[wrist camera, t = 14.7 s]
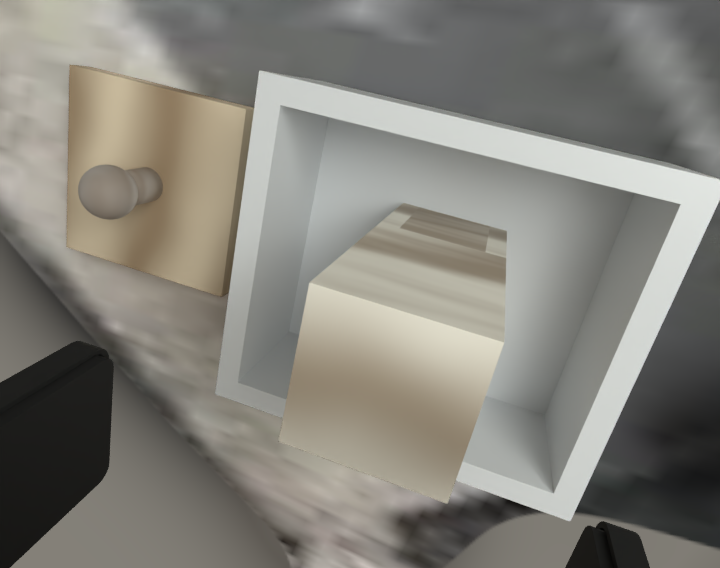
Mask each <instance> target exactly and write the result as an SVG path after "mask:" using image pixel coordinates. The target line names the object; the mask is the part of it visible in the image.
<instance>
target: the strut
mask: <svg viewBox="0 0 720 568" xmlns="http://www.w3.org/2000/svg"><path fill="white" fill-rule="evenodd" d="M506 248H507V231H505V230H502V229H498V228H494V227H491V226H487V225H483V224H480V223H476V222H472V221H469V220H465V219H461V218H458V217H454V216H450V215H447V214H443V213H439V212H435V211H432V210H428V209H424V208H421V207H417V206H413V205H410V204H406V203H403V204H401V205H400V206H399V207H398V208H397V209H395V210H394V211H393V212H392V213H391V214H390V215H388V216H387V217H386V218H385V219H384V220H383V221H381V222H380V223H379V224H378V225H377V226H375V227H374V228H373V229H372V230H371V231H370V232H368V233H367V234H366V235H365V236H364V237H362V238H361V239H360V240H359V241H358V242H357V243H355V244H354V245H353V246H352V247H351V248H349V249H348V250H347V251H346V252H345V253H344V254H342V255H341V256H340V257H339V258H338V259H336V260H335V261H334V262H333V263H332V264H331V265H329V266H328V267H327V268H326V269H325V270H324V271H322V272H321V273H320V274H319V275H318V276H316V277H315V278H314V279H313V280H312V281H311V282H309V287H308V292H307V297H306V302H305V308H304V313H303V318H302V323H301V328H300V333H299V338H298V343H297V348H296V353H295V359H294V364H293V369H292V374H291V379H290V384H289V389H288V394H287V399H286V405H285V410H284V415H283V420H282V425H281V430H280V435H279V440H278V442H281V443H284V444H286V445H289V446H292V447H295V448H297V449H300V450H303V451H305V452H308V453H311V454H314V455H316V456H319V457H322V458H324V459H327V460H330V461H333V462H335V463H338V464H341V465H343V466H346V467H349V468H352V469H354V470H357V471H360V472H362V473H365V474H368V475H371V476H373V477H376V478H379V479H381V480H384V481H387V482H390V483H392V484H395V485H398V486H400V487H403V488H406V489H409V490H411V491H414V492H417V493H419V494H422V495H425V496H428V497H430V498H433V499H436V500H438V501H441V502H444V503H447V504H448V501H449V498H450V495H451V492H452V490H453V487H454V484H455V481H456V478H457V475H458V473H459V470H460V467H461V464H462V461H463V458H464V456H465V453H466V450H467V447H468V444H469V441H470V439H471V436H472V433H473V430H474V427H475V424H476V422H477V419H478V416H479V413H480V410H481V407H482V405H483V402H484V399H485V396H486V393H487V391H488V388H489V385H490V382H491V379H492V376H493V374H494V371H495V368H496V365H497V362H498V359H499V357H500V354H501V351H502V348H503V345H504V338H505V293H506Z"/></svg>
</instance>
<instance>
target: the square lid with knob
mask: <svg viewBox="0 0 720 568" xmlns="http://www.w3.org/2000/svg"><path fill="white" fill-rule="evenodd" d="M253 114H254V108H252V107H248V106H244V105H240V104H236V103H232V102H228V101H224V100H220V99H216V98H212V97H208V96H204V95H200V94H196V93H193V92H189V91H185V90H181V89H177V88H173V87H169V86H165V85H161V84H157V83H153V82H149V81H145V80H141V79H137V78H133V77H129V76H125V75H121V74H117V73H113V72H109V71H105V70H101V69H97V68H93V67H87V66H77V65H70V75H69V131H68V188H67V244H66V247H68V248H71V249H74V250H77V251H80V252H83V253H86V254H90V255H93V256H96V257H99V258H102V259H105V260H108V261H111V262H114V263H117V264H121V265H124V266H127V267H130V268H133V269H136V270H139V271H142V272H145V273H148V274H152V275H155V276H158V277H161V278H164V279H167V280H170V281H173V282H176V283H179V284H183V285H186V286H189V287H192V288H195V289H198V290H201V291H204V292H207V293H210V294H214V295H217V296H220V297H222V296H224V295H225V294H227V293H228V292H229V289H230V281H231V274H232V267H233V260H234V252H235V245H236V238H237V230H238V223H239V216H240V209H241V201H242V194H243V187H244V179H245V172H246V165H247V158H248V150H249V143H250V136H251V128H252V121H253Z"/></svg>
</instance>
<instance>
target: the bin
mask: <svg viewBox="0 0 720 568" xmlns="http://www.w3.org/2000/svg"><path fill="white" fill-rule="evenodd" d="M719 200H720V179H718V178H715V177H712V176H709V175H706V174H703V173H699V172H696V171H693V170H690V169H687V168H683V167H680V166H677V165H674V164H671V163H668V162H664V161H659V160H655V159H651V158H647V157H642V156H638V155H634V154H630V153H625V152H621V151H617V150H613V149H608V148H604V147H600V146H596V145H591V144H587V143H583V142H579V141H574V140H570V139H566V138H562V137H557V136H553V135H549V134H545V133H540V132H536V131H532V130H528V129H523V128H519V127H515V126H511V125H506V124H502V123H498V122H494V121H490V120H485V119H481V118H477V117H473V116H468V115H464V114H460V113H456V112H451V111H447V110H443V109H439V108H434V107H430V106H426V105H422V104H417V103H413V102H409V101H405V100H400V99H396V98H392V97H388V96H383V95H379V94H375V93H371V92H366V91H362V90H358V89H354V88H349V87H345V86H341V85H337V84H333V83H328V82H324V81H319V80H313V79H307V78H301V77H295V76H289V75H284V74H278V73H272V72H266V71H260V70H259V77H258V85H257V92H256V99H255V107H254V114H253V121H252V128H251V136H250V143H249V150H248V158H247V165H246V172H245V179H244V187H243V194H242V201H241V209H240V216H239V223H238V230H237V238H236V245H235V252H234V260H233V267H232V274H231V281H230V289H229V296H228V303H227V311H226V318H225V325H224V333H223V340H222V347H221V354H220V362H219V369H218V376H217V384H216V391H215V394H216V395H219V396H222V397H224V398H227V399H230V400H233V401H236V402H238V403H241V404H244V405H247V406H249V407H252V408H255V409H258V410H261V411H263V412H266V413H269V414H272V415H275V416H277V417H280V418H283V415H284V410H285V405H286V399H287V394H288V389H289V384H290V379H291V374H292V369H293V364H294V359H295V353H296V348H297V343H298V338H299V333H300V328H301V323H302V318H303V313H304V308H305V302H306V297H307V292H308V287H309V282H311V281H312V280H313V279H314V278H315V277H316V276H318V275H319V274H320V273H321V272H322V271H324V270H325V269H326V268H327V267H328V266H329V265H331V264H332V263H333V262H334V261H335V260H336V259H338V258H339V257H340V256H341V255H342V254H344V253H345V252H346V251H347V250H348V249H349V248H351V247H352V246H353V245H354V244H355V243H357V242H358V241H359V240H360V239H361V238H362V237H364V236H365V235H366V234H367V233H368V232H370V231H371V230H372V229H373V228H374V227H375V226H377V225H378V224H379V223H380V222H381V221H383V220H384V219H385V218H386V217H387V216H388V215H390V214H391V213H392V212H393V211H394V210H395V209H397V208H398V207H399V206H400V205H401V204H403V203H406V204H410V205H413V206H417V207H421V208H424V209H428V210H432V211H435V212H439V213H443V214H447V215H450V216H454V217H458V218H461V219H465V220H469V221H472V222H476V223H480V224H483V225H487V226H491V227H494V228H498V229H502V230H505V231H507V248H506V293H505V338H504V345H503V348H502V351H501V354H500V357H499V359H498V362H497V365H496V368H495V371H494V374H493V376H492V379H491V382H490V385H489V388H488V391H487V393H486V396H485V399H484V402H483V405H482V407H481V410H480V413H479V416H478V419H477V422H476V424H475V427H474V430H473V433H472V436H471V439H470V441H469V444H468V447H467V450H466V453H465V456H464V458H463V461H462V464H461V467H460V470H459V473H458V475H457V478H456V481H459V482H461V483H464V484H467V485H470V486H473V487H475V488H478V489H481V490H484V491H486V492H489V493H492V494H495V495H498V496H500V497H503V498H506V499H509V500H512V501H514V502H517V503H520V504H523V505H525V506H528V507H531V508H534V509H537V510H539V511H542V512H545V513H548V514H551V515H553V516H556V517H559V518H562V519H565V520H567V521H571V519H572V517H573V515H574V512H575V510H576V508H577V506H578V504H579V502H580V499H581V497H582V495H583V493H584V491H585V489H586V487H587V484H588V482H589V480H590V478H591V476H592V474H593V472H594V469H595V467H596V465H597V463H598V461H599V459H600V456H601V454H602V452H603V450H604V448H605V446H606V444H607V441H608V439H609V437H610V435H611V433H612V431H613V428H614V426H615V424H616V422H617V420H618V418H619V416H620V413H621V411H622V409H623V407H624V405H625V403H626V401H627V398H628V396H629V394H630V392H631V390H632V388H633V385H634V383H635V381H636V379H637V377H638V375H639V373H640V370H641V368H642V366H643V364H644V362H645V360H646V357H647V355H648V353H649V351H650V349H651V347H652V345H653V342H654V340H655V338H656V336H657V334H658V332H659V330H660V327H661V325H662V323H663V321H664V319H665V317H666V314H667V312H668V310H669V308H670V306H671V304H672V302H673V299H674V297H675V295H676V293H677V291H678V289H679V286H680V284H681V282H682V280H683V278H684V276H685V274H686V271H687V269H688V267H689V265H690V263H691V261H692V259H693V256H694V254H695V252H696V250H697V248H698V246H699V243H700V241H701V239H702V237H703V235H704V233H705V231H706V228H707V226H708V224H709V222H710V220H711V218H712V215H713V213H714V211H715V209H716V207H717V205H718V203H719Z"/></svg>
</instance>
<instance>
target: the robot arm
mask: <svg viewBox="0 0 720 568" xmlns="http://www.w3.org/2000/svg"><path fill="white" fill-rule="evenodd" d="M112 389H113V362H112V360H110V359H109V355H108V353H107V351H106V350H104V349H102V348H99V347H96V346H93V345H90V344H87V343H84V342H81V341H76V342H73V343H71V344H69V345H67V346H65V347H63V348H62V349H60V350H58V351H56V352H54V353H53V354H51V355H49V356H47V357H46V358H44V359H42V360H40V361H38V362H37V363H35V364H33V365H32V366H30V367H28V368H26V369H24V370H22V371H20V372H19V373H17V374H15V375H13V376H12V377H10V378H8V379H6V380H4V381H2V382H1V383H0V568H10V567H11V566H12V565H13V564H14V563H15V562H16V561H17V560H18V559H19V558H21V557H22V556H23V555H24V554H25V553H26V552H27V551H28V550H29V549H30V548H31V547H32V546H33V545H34V544H35V543H36V542H38V541H39V540H40V539H41V538H42V537H43V536H44V535H45V534H46V533H47V532H48V531H49V530H50V529H51V528H52V527H53V526H54V525H56V524H57V523H58V522H59V521H60V520H61V519H62V518H63V517H64V516H65V515H66V514H67V513H68V512H69V511H70V510H71V509H72V508H74V507H75V506H76V505H77V504H78V503H79V502H80V501H81V500H82V499H83V498H84V497H85V496H86V495H87V494H88V493H89V492H90V491H91V490H93V489H94V488H95V487H96V486H97V485H98V484H99V483H100V482H101V481H102V479H103V478H104V476H105V474H106V472H107V470H108V467H109V456H110V434H111V433H110V432H111V411H112ZM566 568H650V567H649V563H648V560H647V557H646V554H645V551H644V548H643V544H642V541H641V539H640V537H639V535H638V534H637V533H636V532H633V531H630V530H627V529H624V528H621V527H618V526H616V525H612V524H610V523H607V522H604V521H603V522H600V523H599V524H598V525H597V526H596V528H595V527H592V526H587V527H586V528H585V529H584V531H583V533H582V535H581V537H580V539H579V541H578V543H577V545H576V547H575V549H574V551H573V553H572V556H571V557H570V559H569V561H568V563H567V565H566Z"/></svg>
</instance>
